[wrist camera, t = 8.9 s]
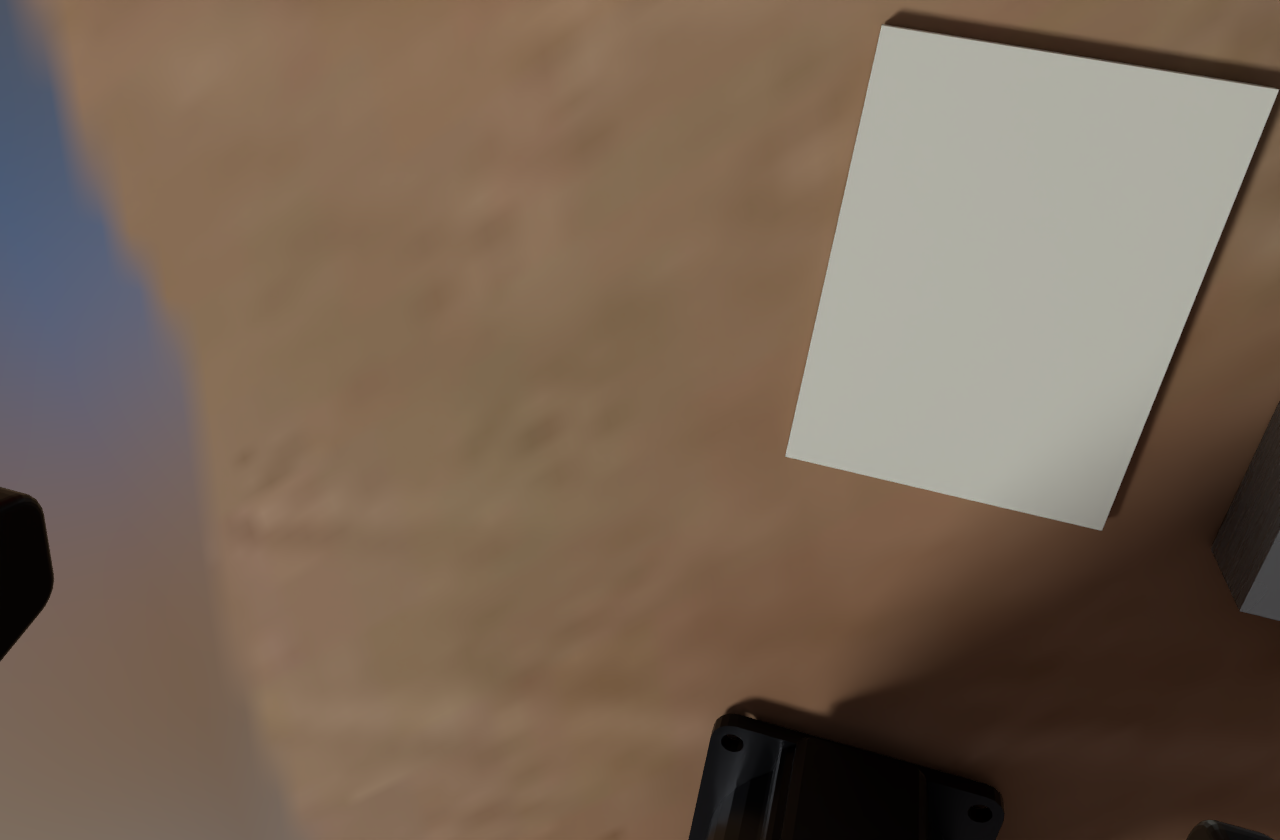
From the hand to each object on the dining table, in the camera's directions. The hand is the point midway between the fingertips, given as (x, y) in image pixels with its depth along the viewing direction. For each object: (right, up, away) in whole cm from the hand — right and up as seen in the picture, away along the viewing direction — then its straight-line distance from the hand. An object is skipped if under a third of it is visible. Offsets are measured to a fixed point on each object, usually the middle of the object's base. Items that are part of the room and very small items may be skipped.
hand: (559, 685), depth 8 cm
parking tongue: (+7, +4, +10) cm, 13 cm away
